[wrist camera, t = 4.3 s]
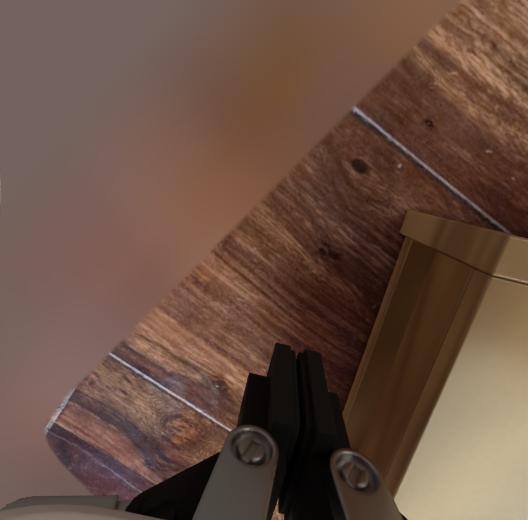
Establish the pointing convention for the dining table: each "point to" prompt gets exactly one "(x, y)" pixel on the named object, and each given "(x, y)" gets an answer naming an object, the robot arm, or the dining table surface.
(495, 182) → the dining table surface
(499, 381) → the gold flanged block
